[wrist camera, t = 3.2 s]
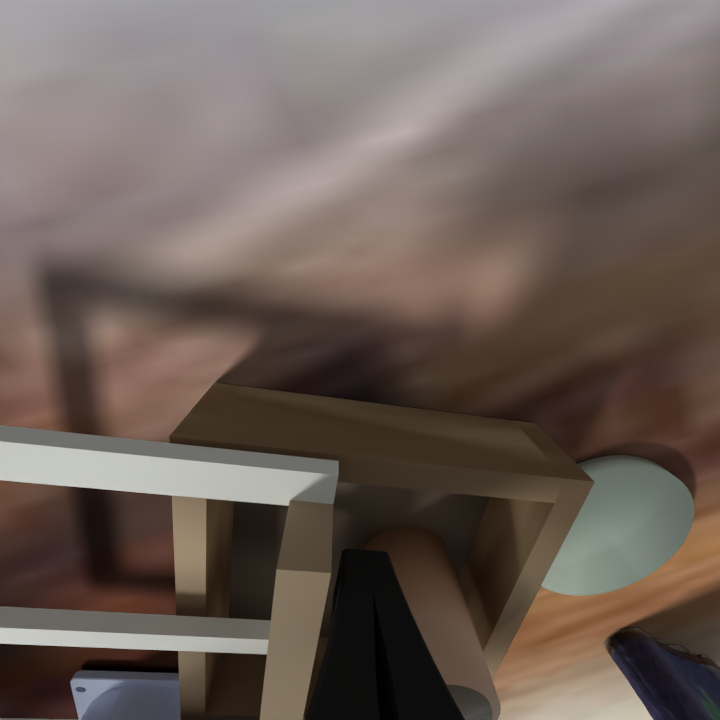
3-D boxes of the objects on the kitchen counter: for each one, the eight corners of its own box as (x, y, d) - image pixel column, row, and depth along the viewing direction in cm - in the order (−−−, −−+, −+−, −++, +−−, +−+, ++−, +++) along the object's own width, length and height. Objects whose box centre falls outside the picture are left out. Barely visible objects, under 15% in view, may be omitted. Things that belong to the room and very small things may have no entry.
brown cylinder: (436, 595, 17) (478, 758, 12) (350, 589, 16) (355, 757, 11) (459, 530, 15) (520, 684, 10) (366, 522, 15) (379, 680, 10)
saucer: (631, 584, 18) (643, 600, 17) (492, 574, 17) (499, 590, 16) (709, 464, 15) (728, 476, 14) (548, 445, 14) (559, 457, 14)
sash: (289, 738, 15) (279, 838, 12) (-38, 733, 13) (-124, 846, 11) (338, 460, 9) (337, 540, 7) (-194, 405, 8) (-425, 479, 6)
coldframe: (443, 646, 19) (465, 731, 16) (210, 635, 18) (180, 727, 14) (535, 423, 14) (594, 481, 11) (214, 382, 12) (169, 436, 9)
